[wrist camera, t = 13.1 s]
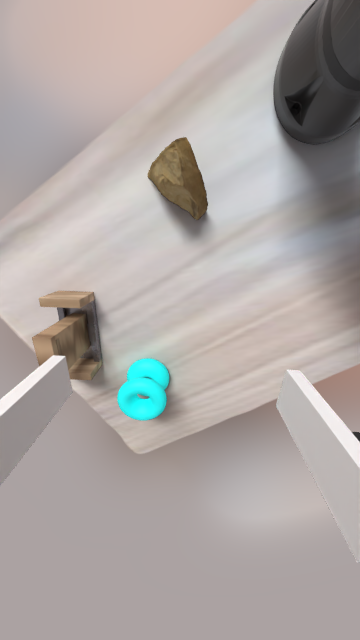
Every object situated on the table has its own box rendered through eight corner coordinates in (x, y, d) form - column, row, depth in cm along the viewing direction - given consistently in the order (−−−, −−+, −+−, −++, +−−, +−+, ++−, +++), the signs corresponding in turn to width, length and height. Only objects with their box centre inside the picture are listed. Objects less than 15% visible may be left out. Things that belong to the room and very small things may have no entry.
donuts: (150, 376, 37) (174, 414, 40) (157, 349, 46) (176, 382, 49) (105, 394, 39) (132, 429, 42) (121, 365, 48) (142, 395, 51)
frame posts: (58, 290, 42) (38, 298, 36) (93, 292, 42) (79, 299, 36) (71, 362, 48) (56, 378, 43) (102, 364, 48) (91, 380, 42)
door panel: (71, 313, 43) (31, 337, 32) (86, 313, 43) (51, 338, 32) (76, 345, 46) (41, 378, 35) (90, 346, 46) (60, 379, 35)
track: (59, 298, 42) (55, 300, 41) (94, 299, 42) (91, 301, 41) (70, 357, 48) (67, 360, 46) (101, 358, 47) (99, 361, 46)
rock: (226, 210, 34) (211, 136, 29) (200, 223, 28) (178, 134, 24) (177, 225, 41) (159, 167, 36) (149, 238, 35) (124, 171, 31)
